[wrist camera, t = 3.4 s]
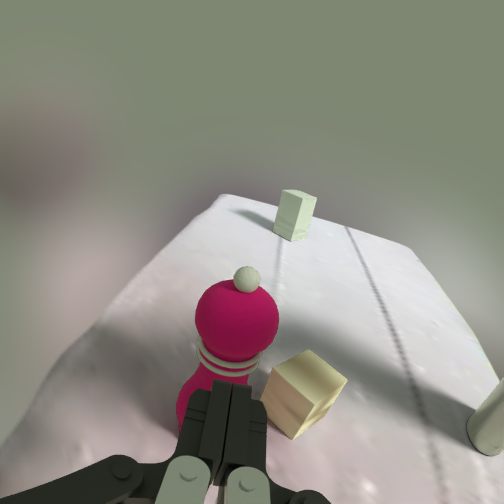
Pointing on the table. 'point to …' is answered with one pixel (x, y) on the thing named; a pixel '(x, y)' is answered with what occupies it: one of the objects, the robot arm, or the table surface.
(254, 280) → the pepper mill
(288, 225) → the supplement box
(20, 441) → the table surface
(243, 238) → the table surface
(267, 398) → the pale yellow cube-like block
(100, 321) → the table surface
